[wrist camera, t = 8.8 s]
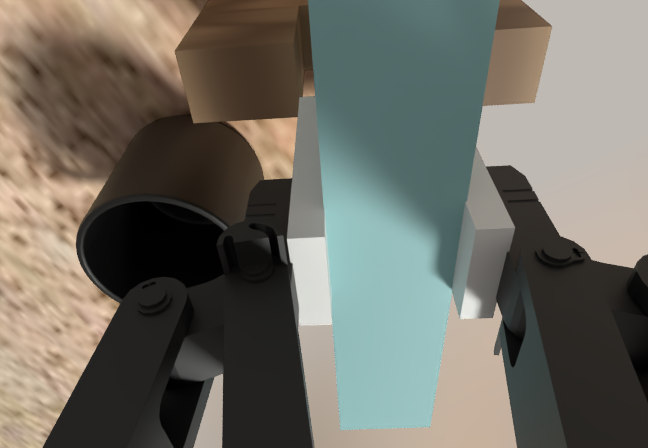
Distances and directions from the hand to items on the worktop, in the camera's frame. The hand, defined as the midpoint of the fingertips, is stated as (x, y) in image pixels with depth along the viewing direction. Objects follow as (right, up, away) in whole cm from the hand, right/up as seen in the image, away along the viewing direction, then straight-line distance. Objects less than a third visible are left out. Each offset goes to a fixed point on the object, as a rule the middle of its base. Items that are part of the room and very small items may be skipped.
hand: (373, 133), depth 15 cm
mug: (-12, 0, +19) cm, 22 cm away
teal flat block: (0, +6, +7) cm, 9 cm away
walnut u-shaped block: (0, +9, +11) cm, 14 cm away
